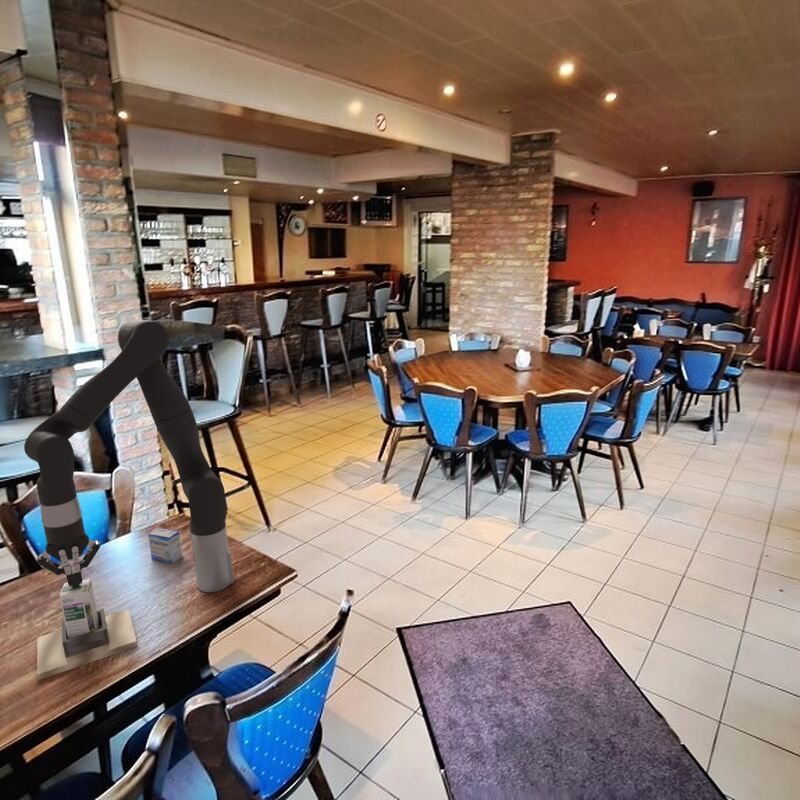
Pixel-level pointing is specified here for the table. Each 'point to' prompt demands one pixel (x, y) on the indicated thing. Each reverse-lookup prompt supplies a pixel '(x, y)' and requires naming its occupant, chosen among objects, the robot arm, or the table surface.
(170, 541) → the medicine box
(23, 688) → the table surface
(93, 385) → the robot arm
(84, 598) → the syrup box
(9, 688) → the table surface
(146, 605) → the table surface
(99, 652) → the socket stand
